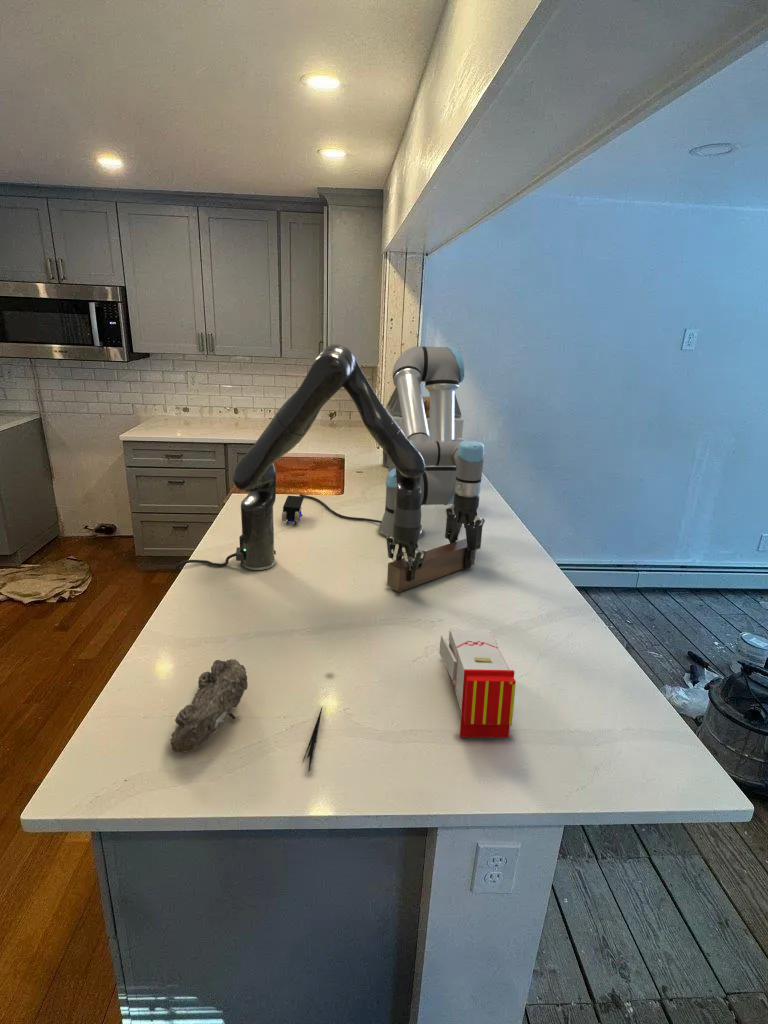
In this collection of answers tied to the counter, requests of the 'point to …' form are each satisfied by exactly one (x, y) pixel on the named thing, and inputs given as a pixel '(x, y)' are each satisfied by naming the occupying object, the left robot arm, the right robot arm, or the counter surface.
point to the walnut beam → (429, 566)
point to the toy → (479, 682)
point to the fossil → (210, 704)
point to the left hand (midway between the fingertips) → (403, 577)
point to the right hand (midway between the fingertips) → (460, 564)
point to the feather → (313, 740)
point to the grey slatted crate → (395, 412)
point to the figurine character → (292, 509)
